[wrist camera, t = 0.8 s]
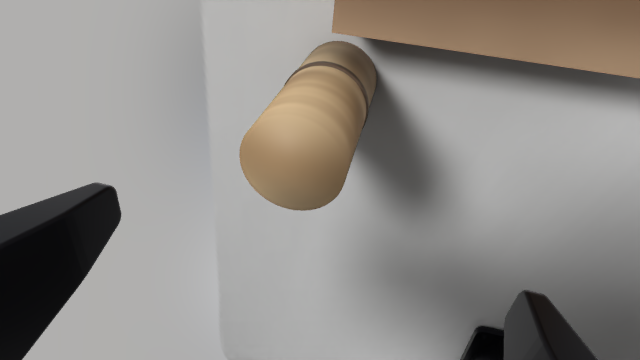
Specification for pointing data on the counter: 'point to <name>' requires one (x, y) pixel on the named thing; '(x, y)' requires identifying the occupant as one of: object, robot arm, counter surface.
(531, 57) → the board
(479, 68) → the counter surface
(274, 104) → the peg
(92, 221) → the robot arm
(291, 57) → the counter surface
